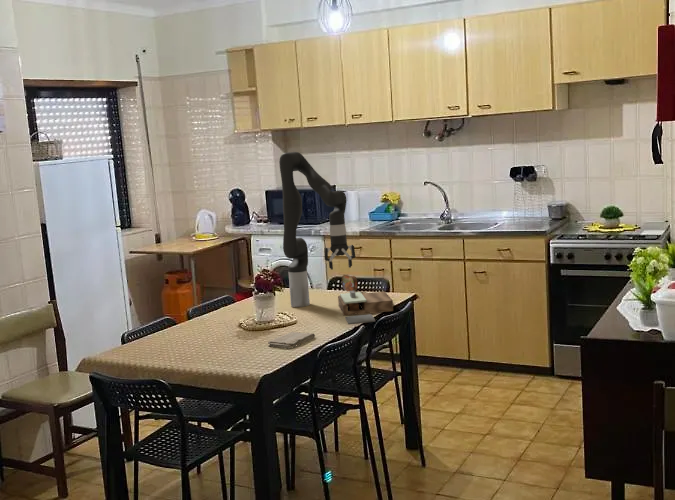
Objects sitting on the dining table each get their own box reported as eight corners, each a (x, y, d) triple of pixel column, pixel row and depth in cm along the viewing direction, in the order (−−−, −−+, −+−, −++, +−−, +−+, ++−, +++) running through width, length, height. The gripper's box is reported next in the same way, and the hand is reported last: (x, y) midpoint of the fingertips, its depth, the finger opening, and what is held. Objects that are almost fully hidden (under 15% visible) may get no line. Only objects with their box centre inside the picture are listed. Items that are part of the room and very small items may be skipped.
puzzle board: (343, 315, 352) (343, 305, 351) (338, 305, 373) (337, 295, 372) (393, 310, 354) (392, 300, 353) (385, 301, 375) (384, 291, 374)
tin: (341, 288, 413) (340, 273, 411) (346, 288, 414) (345, 272, 413) (353, 293, 399) (352, 277, 398) (359, 292, 400) (358, 276, 399)
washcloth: (266, 348, 309) (266, 340, 309) (292, 336, 324) (291, 329, 324) (290, 350, 303) (290, 343, 302) (315, 338, 318) (315, 331, 317)
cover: (344, 303, 352) (344, 296, 352) (340, 295, 371) (339, 288, 370) (366, 301, 353) (366, 294, 353) (360, 293, 372) (360, 287, 371)
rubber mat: (348, 324, 336) (348, 322, 336) (345, 317, 347) (345, 316, 347) (375, 321, 337) (375, 320, 337) (371, 315, 349) (371, 314, 349)
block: (349, 311, 360) (349, 301, 360) (348, 309, 365) (347, 299, 364) (359, 310, 361) (358, 300, 360) (357, 308, 365) (357, 298, 365)
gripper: (351, 231, 360) (354, 265, 363) (321, 234, 358) (324, 268, 360) (354, 233, 353) (357, 268, 355) (324, 236, 351) (327, 271, 353)
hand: (340, 268), depth 358 cm, fingers open, 8 cm apart
